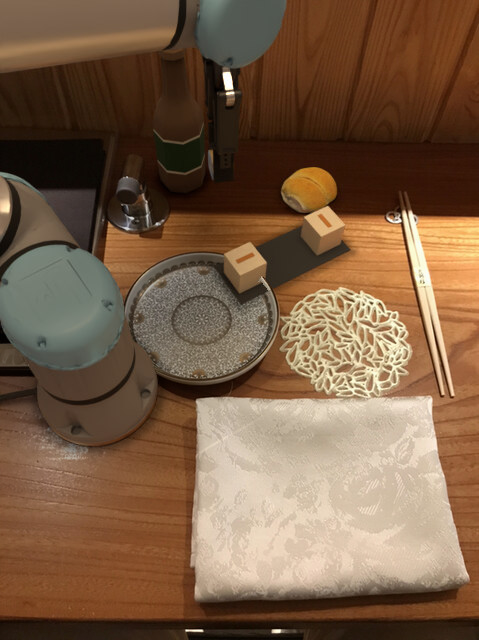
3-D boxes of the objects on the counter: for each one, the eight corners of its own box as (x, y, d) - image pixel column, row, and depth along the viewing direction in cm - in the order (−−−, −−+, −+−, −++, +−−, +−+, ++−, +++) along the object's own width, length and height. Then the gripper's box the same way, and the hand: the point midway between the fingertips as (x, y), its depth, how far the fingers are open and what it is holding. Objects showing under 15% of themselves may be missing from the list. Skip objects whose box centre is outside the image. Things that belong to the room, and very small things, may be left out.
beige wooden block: (317, 255, 86) (321, 236, 83) (300, 236, 88) (303, 216, 85) (340, 244, 88) (345, 224, 84) (323, 225, 90) (328, 205, 86)
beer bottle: (215, 174, 96) (212, 40, 75) (188, 202, 92) (178, 69, 72) (177, 156, 98) (165, 21, 78) (150, 183, 94) (130, 49, 74)
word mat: (241, 306, 82) (241, 304, 81) (213, 268, 85) (213, 266, 85) (350, 251, 88) (351, 250, 87) (320, 218, 91) (321, 216, 91)
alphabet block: (208, 165, 80) (207, 149, 77) (229, 162, 80) (229, 146, 77) (212, 181, 78) (211, 164, 75) (234, 178, 78) (234, 161, 76)
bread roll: (344, 193, 94) (348, 175, 91) (310, 222, 91) (313, 205, 87) (306, 169, 97) (309, 150, 94) (271, 196, 93) (273, 178, 90)
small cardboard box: (239, 293, 82) (240, 275, 78) (223, 272, 84) (223, 253, 80) (265, 281, 84) (267, 262, 80) (249, 260, 86) (250, 241, 82)
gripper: (271, 43, 55) (259, 209, 75) (241, -41, 63) (237, 129, 83) (195, 49, 54) (203, 216, 74) (174, -36, 63) (186, 134, 83)
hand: (221, 170), depth 79 cm, fingers closed on alphabet block, 3 cm apart
